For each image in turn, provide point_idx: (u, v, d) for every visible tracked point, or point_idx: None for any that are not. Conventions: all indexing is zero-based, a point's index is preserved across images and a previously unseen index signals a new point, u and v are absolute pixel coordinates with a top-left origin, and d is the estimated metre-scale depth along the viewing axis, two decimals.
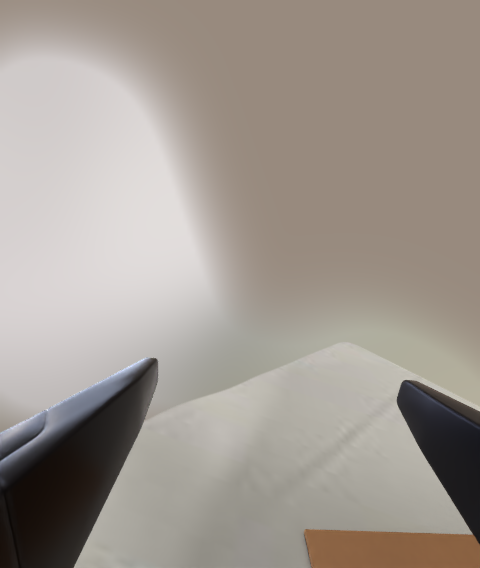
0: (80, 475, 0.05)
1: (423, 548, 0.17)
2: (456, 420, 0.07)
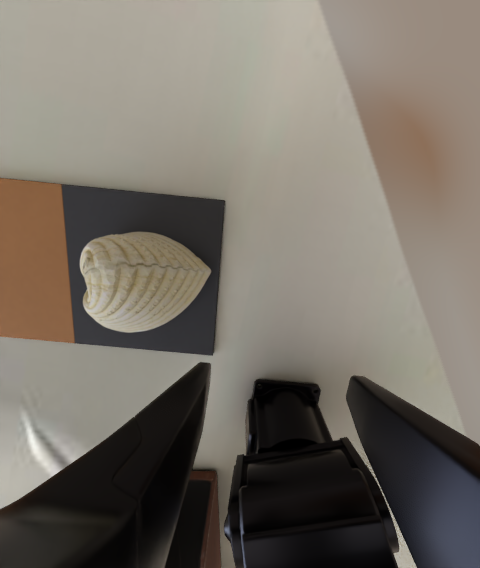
0: (172, 482, 0.05)
1: None
2: (388, 414, 0.07)
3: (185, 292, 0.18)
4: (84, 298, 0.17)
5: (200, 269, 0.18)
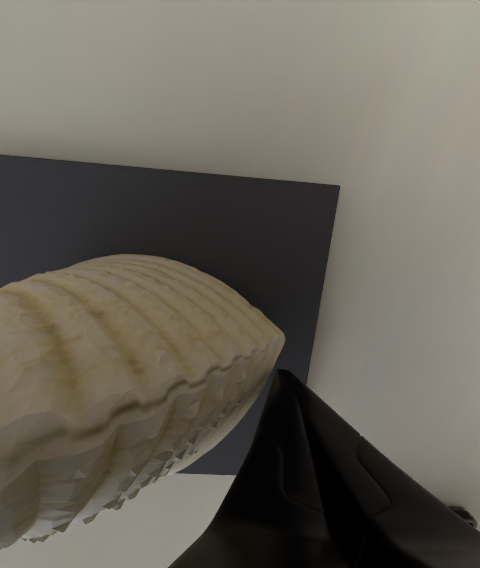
0: None
1: None
2: None
3: None
4: None
5: (270, 341, 0.08)
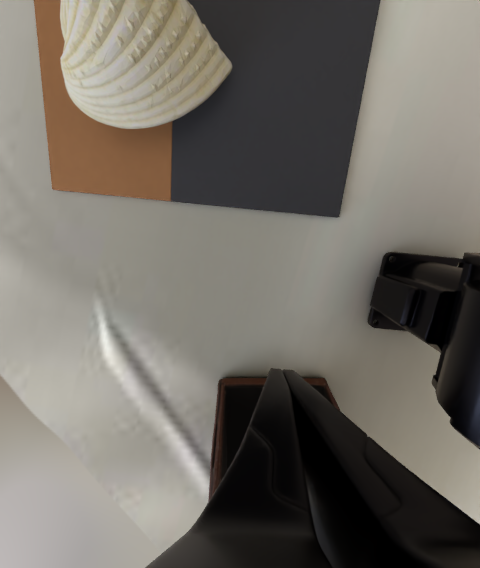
0: None
1: (52, 58, 0.16)
2: (297, 407, 0.06)
3: (198, 71, 0.14)
4: None
5: None
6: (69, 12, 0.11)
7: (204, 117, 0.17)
